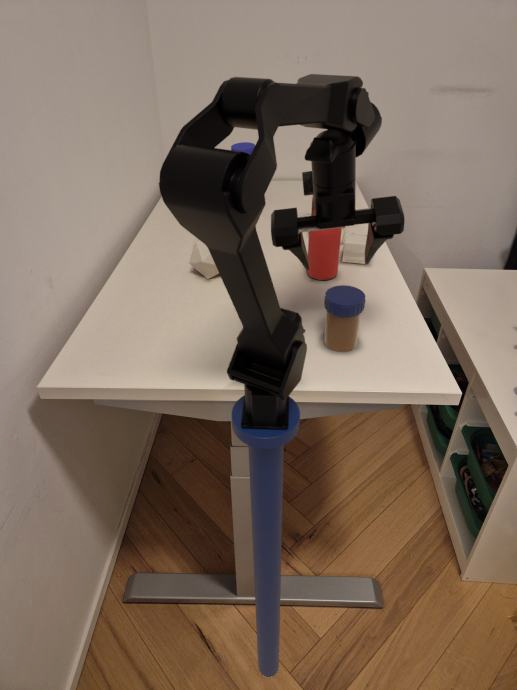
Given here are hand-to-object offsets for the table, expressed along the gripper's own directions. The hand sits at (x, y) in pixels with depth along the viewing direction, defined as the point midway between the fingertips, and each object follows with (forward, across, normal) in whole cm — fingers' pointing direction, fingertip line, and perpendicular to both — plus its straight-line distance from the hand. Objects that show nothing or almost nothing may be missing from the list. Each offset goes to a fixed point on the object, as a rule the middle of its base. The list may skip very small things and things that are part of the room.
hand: (336, 265), depth 74 cm
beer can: (+19, +2, -19) cm, 27 cm away
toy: (+28, +23, -66) cm, 76 cm away
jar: (+13, 0, +5) cm, 14 cm away
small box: (+22, -6, -27) cm, 35 cm away
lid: (+4, -1, +3) cm, 5 cm away
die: (+16, +26, -20) cm, 37 cm away
